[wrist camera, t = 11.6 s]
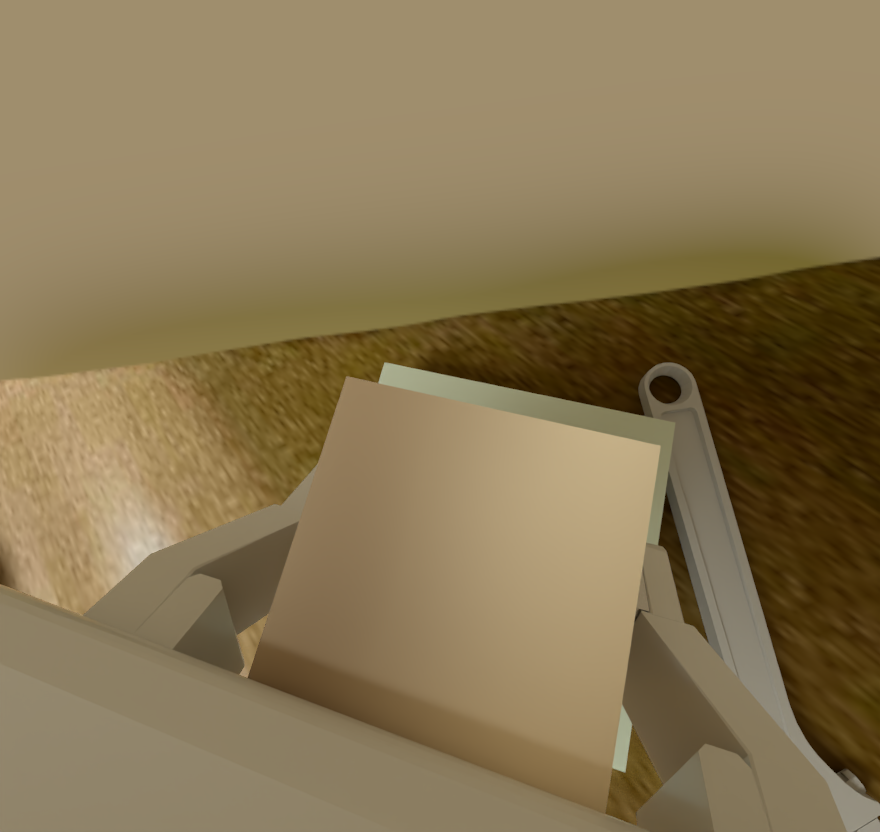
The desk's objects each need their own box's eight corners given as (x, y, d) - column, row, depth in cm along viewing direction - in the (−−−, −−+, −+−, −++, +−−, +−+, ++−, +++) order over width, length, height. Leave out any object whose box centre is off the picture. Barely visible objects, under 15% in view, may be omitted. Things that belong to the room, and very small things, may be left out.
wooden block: (549, 497, 15) (660, 445, 5) (524, 618, 14) (601, 842, 4) (438, 469, 15) (346, 376, 6) (409, 583, 14) (240, 700, 5)
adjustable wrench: (628, 375, 24) (638, 363, 23) (747, 365, 24) (767, 352, 22) (723, 931, 18) (748, 974, 16) (893, 941, 17) (937, 987, 15)
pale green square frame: (645, 439, 23) (675, 422, 19) (600, 724, 20) (625, 772, 16) (401, 386, 25) (384, 362, 21) (329, 631, 22) (294, 653, 19)
